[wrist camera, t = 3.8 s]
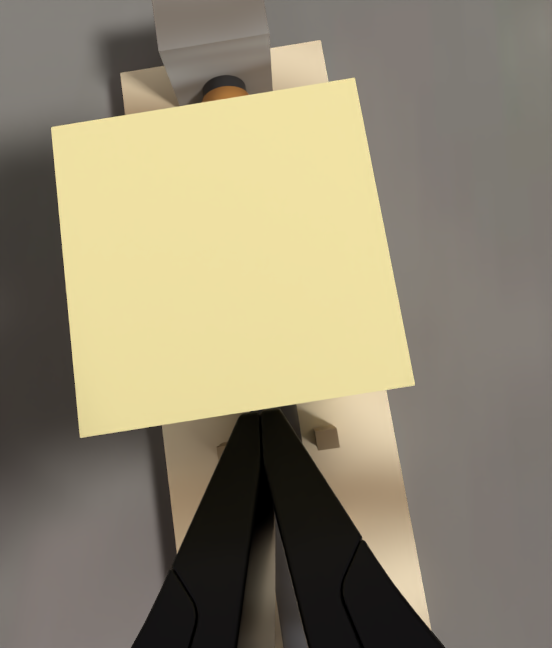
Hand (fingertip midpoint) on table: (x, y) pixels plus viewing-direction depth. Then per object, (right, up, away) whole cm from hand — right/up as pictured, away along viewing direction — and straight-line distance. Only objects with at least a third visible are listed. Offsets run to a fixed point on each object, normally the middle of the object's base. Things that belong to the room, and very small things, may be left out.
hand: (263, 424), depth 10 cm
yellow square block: (0, +2, +7) cm, 7 cm away
